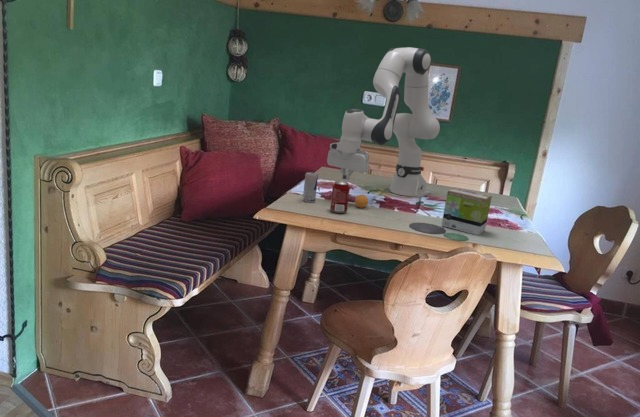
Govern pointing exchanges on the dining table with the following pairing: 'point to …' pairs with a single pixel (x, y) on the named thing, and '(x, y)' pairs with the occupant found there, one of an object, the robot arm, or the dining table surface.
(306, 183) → the energy drink
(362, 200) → the ball
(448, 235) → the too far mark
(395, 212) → the dining table surface
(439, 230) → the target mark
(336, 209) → the soda can
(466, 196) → the tea box
